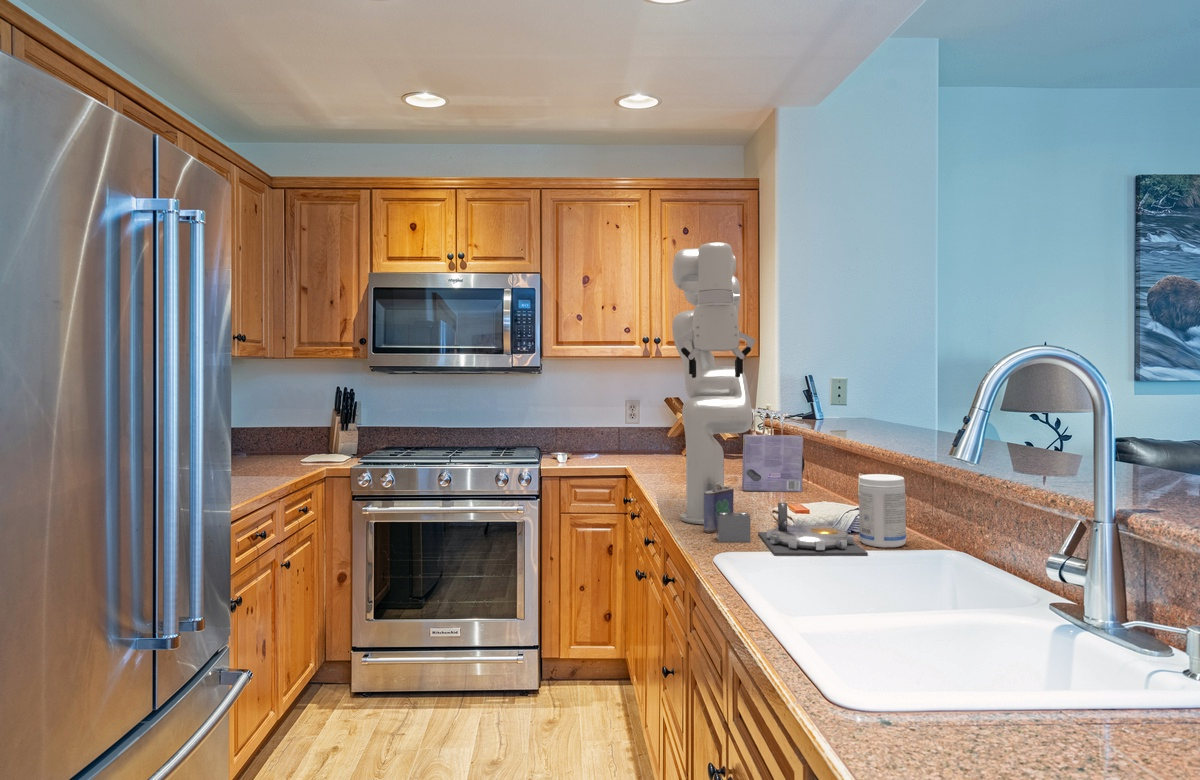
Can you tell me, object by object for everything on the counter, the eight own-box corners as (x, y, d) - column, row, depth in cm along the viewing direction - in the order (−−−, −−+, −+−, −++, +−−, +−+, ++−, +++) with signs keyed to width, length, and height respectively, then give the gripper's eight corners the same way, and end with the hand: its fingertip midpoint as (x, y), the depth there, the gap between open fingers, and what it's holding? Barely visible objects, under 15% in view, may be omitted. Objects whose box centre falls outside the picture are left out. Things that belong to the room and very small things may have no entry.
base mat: (758, 534, 170) (758, 531, 170) (840, 534, 170) (840, 531, 170) (774, 555, 151) (774, 551, 151) (867, 555, 151) (867, 551, 151)
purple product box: (803, 489, 232) (803, 433, 231) (806, 492, 227) (806, 435, 226) (741, 489, 234) (741, 433, 233) (743, 491, 229) (743, 435, 228)
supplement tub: (906, 540, 163) (906, 474, 163) (905, 550, 155) (905, 481, 154) (860, 536, 167) (860, 472, 167) (857, 546, 158) (857, 478, 158)
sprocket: (760, 530, 170) (760, 498, 170) (838, 530, 169) (838, 498, 169) (776, 549, 152) (776, 514, 152) (864, 549, 151) (864, 514, 151)
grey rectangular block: (716, 538, 167) (716, 511, 167) (747, 538, 167) (747, 511, 167) (718, 542, 164) (718, 514, 163) (750, 542, 163) (750, 514, 163)
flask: (710, 533, 172) (710, 484, 171) (699, 531, 174) (699, 483, 174) (736, 527, 178) (736, 480, 178) (725, 525, 181) (725, 479, 180)
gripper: (751, 301, 165) (752, 376, 166) (674, 302, 166) (675, 377, 166) (757, 297, 158) (758, 377, 158) (677, 299, 158) (677, 378, 159)
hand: (715, 377), depth 162 cm, fingers open, 9 cm apart
